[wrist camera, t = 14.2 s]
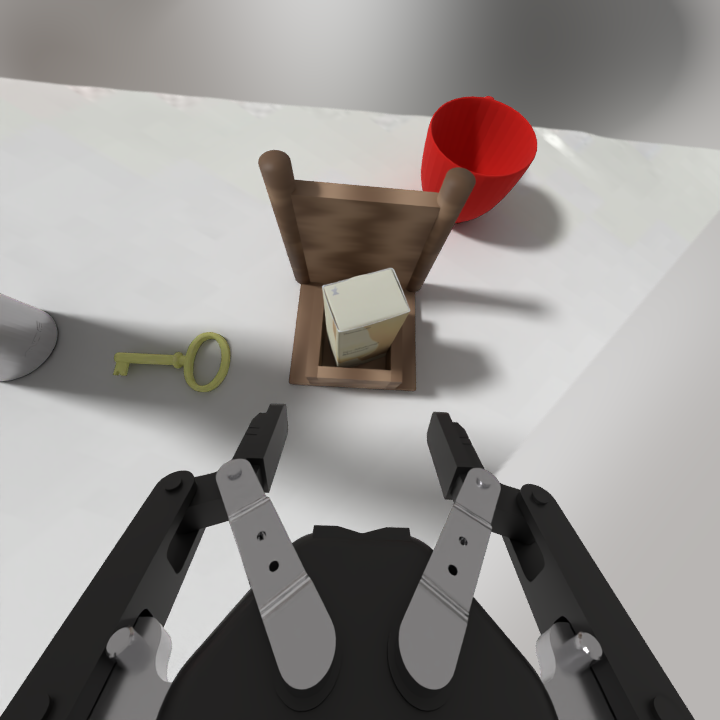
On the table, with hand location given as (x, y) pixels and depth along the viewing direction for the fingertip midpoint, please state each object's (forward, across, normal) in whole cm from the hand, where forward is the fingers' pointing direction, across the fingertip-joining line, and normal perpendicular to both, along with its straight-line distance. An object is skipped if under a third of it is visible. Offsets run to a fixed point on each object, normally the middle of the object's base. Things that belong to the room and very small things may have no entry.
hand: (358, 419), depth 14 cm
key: (+17, +21, +8) cm, 28 cm away
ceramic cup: (+37, -14, -13) cm, 42 cm away
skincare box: (+18, 0, +5) cm, 18 cm away
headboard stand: (+21, 0, +3) cm, 21 cm away
